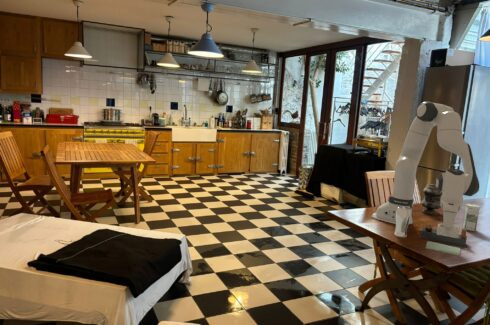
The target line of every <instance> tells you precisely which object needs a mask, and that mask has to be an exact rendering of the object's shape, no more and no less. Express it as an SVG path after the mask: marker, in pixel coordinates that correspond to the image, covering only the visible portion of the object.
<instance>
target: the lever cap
mask: <svg viewBox="0 0 490 325" xmlns="http://www.w3.org/2000/svg"><path fill="white" fill-rule="evenodd" d="M460 229H461V228H460V227H459V226H454V225H453V228H450V233H449V235H447V234H445V227H444V226H443V222H440V223H437V227H436V230H437V235H443V236H448V237H453V238H458V237H459V234H460Z"/></svg>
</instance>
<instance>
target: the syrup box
mask: <svg viewBox="0 0 490 325" xmlns="http://www.w3.org/2000/svg"><path fill="white" fill-rule="evenodd" d="M480 208H481V207H480V205H478V204H476V203H475V204H474V203H468V202H467V203H466V204H465V209H464V214H463V221H462V228H463V229H467V231H469V232H476V231H477V226H478V220H479V214H480Z"/></svg>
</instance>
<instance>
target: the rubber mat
mask: <svg viewBox="0 0 490 325" xmlns="http://www.w3.org/2000/svg"><path fill="white" fill-rule="evenodd" d="M425 249H427V250H431V251H435V252H439V253H445V254H448V255H454V256H456V257H457V256H458V257H460V254H461V247H458V246H452V245H449V244H448V245H447V244H444V243H440V242H436V241H431V240H427V243H426V246H425Z"/></svg>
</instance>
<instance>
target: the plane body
mask: <svg viewBox="0 0 490 325" xmlns="http://www.w3.org/2000/svg"><path fill="white" fill-rule="evenodd" d="M433 226H434V225H433V224H432V223H429V222H428V223H425V226H422V228H421V230H420V237H419V238H421V239H424V240H427V241H432V242H436V243H441V244H445V245H447V244H448V245H450V246H452V245H453V246H455V247H459V248H461V247H462V248H466V246H467V241H468V240H467V237H468V236H467V231H468V230H467V229H463V227H462V228H461V233H459V237H458V238H453V237H448V236H443V235H437V228H433Z"/></svg>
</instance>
